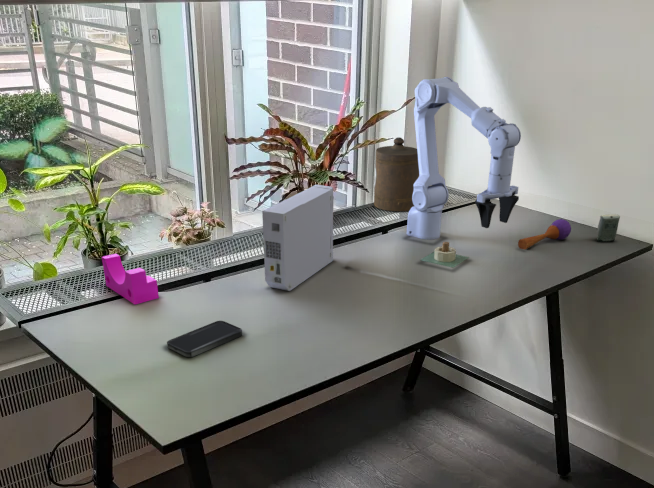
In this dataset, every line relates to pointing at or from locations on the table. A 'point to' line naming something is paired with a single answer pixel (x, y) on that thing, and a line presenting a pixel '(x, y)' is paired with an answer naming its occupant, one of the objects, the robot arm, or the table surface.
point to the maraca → (548, 234)
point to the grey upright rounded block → (607, 228)
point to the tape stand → (449, 264)
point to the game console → (298, 237)
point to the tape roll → (445, 254)
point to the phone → (204, 338)
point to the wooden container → (395, 176)
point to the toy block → (129, 281)
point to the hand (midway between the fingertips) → (494, 224)
